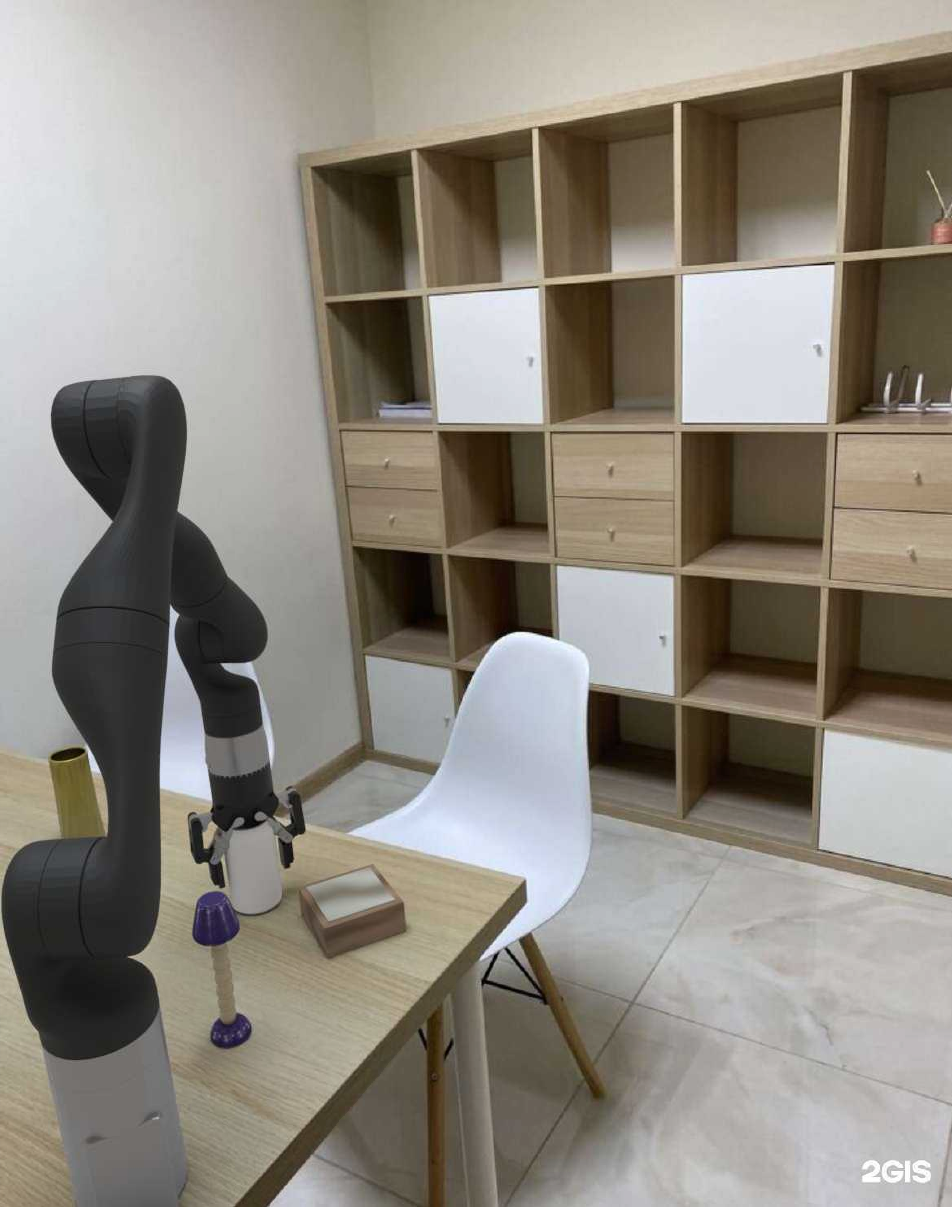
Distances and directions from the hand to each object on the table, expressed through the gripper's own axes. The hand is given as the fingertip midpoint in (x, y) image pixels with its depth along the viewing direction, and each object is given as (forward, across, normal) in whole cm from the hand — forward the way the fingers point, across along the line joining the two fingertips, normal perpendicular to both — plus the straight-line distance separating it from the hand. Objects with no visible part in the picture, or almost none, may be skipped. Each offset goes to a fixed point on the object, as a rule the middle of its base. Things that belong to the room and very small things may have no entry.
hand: (254, 875), depth 123 cm
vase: (+4, -18, +29) cm, 34 cm away
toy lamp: (+4, -9, -23) cm, 25 cm away
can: (+4, 0, 0) cm, 4 cm away
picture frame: (+4, +9, -11) cm, 15 cm away
